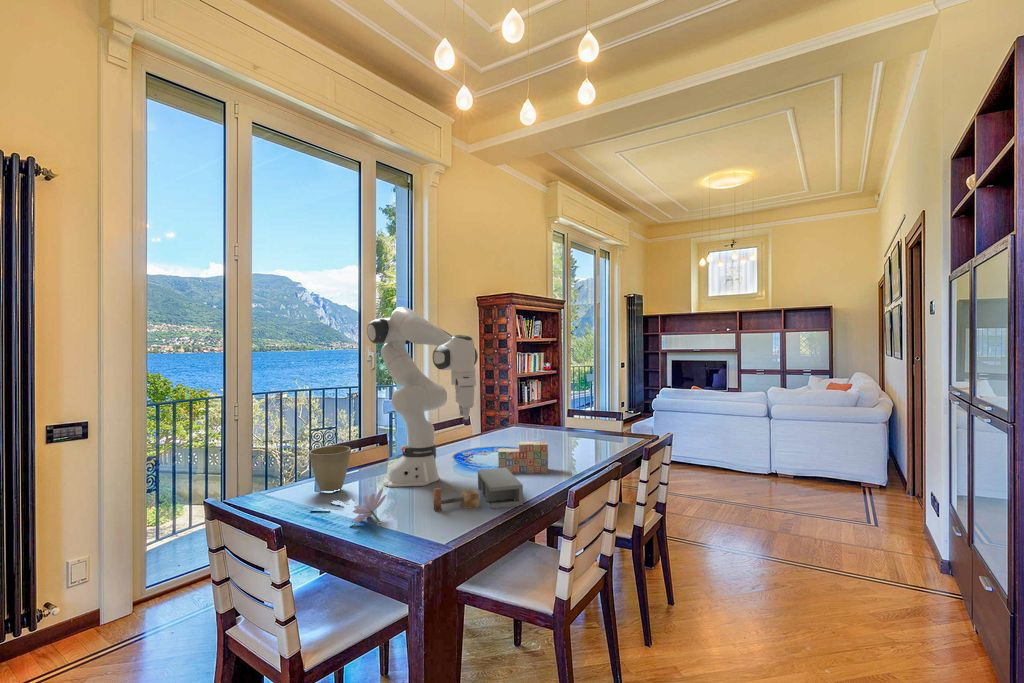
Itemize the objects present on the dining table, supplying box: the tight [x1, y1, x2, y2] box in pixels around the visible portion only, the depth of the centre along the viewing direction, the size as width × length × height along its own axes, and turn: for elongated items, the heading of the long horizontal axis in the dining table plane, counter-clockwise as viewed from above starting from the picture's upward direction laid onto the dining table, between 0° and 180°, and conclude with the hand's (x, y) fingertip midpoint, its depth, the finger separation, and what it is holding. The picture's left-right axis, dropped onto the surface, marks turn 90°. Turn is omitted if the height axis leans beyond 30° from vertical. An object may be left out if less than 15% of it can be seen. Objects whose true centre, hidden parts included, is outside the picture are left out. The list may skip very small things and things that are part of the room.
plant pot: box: [309, 445, 351, 491], centre depth 196 cm, size 15×15×16 cm
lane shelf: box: [477, 467, 524, 509], centre depth 185 cm, size 11×25×7 cm, turn 14°
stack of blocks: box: [497, 440, 549, 474], centre depth 220 cm, size 21×6×12 cm, turn 89°
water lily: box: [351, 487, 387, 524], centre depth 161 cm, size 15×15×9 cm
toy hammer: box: [432, 487, 480, 512], centre depth 174 cm, size 15×5×7 cm, turn 111°
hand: (464, 417), depth 185 cm, fingers open, 8 cm apart
